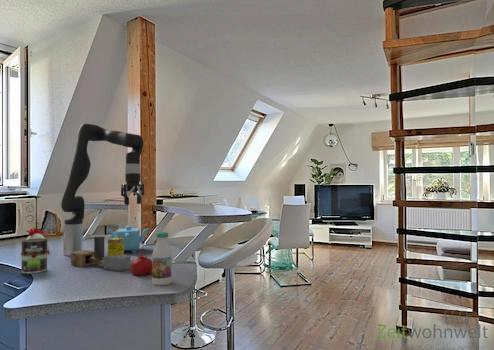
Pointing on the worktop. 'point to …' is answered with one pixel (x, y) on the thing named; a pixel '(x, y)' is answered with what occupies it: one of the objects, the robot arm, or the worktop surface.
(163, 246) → the milk bottle
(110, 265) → the sleeve
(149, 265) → the pomegranate
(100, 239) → the rod
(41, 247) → the coffee can
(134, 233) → the teakettle
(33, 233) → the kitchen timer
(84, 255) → the socket block
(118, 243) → the supplement box
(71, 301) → the worktop surface
